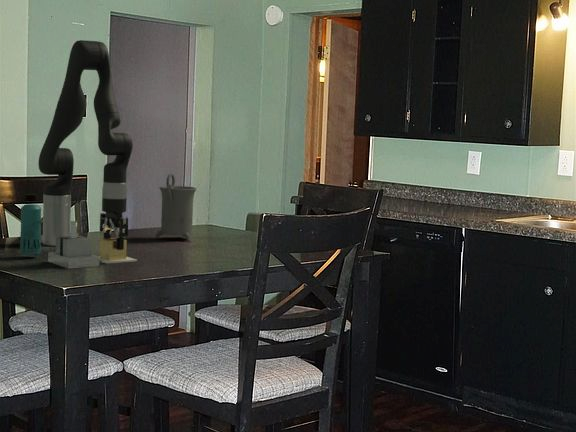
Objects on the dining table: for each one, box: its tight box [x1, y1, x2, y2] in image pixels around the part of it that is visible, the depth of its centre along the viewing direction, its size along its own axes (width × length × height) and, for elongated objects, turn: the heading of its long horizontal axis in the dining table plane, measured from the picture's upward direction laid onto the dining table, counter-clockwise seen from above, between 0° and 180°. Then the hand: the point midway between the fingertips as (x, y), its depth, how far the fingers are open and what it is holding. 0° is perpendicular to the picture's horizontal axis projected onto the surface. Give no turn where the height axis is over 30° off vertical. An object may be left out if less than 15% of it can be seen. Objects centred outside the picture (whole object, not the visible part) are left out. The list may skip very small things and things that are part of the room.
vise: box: [47, 220, 100, 269], centre depth 280 cm, size 14×10×13 cm
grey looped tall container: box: [153, 173, 197, 243], centre depth 342 cm, size 19×15×25 cm
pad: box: [98, 255, 138, 264], centre depth 291 cm, size 11×11×1 cm
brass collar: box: [99, 237, 128, 260], centre depth 291 cm, size 6×6×6 cm
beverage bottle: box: [19, 193, 43, 255], centre depth 288 cm, size 6×7×20 cm
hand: (113, 247), depth 291 cm, fingers open, 8 cm apart
